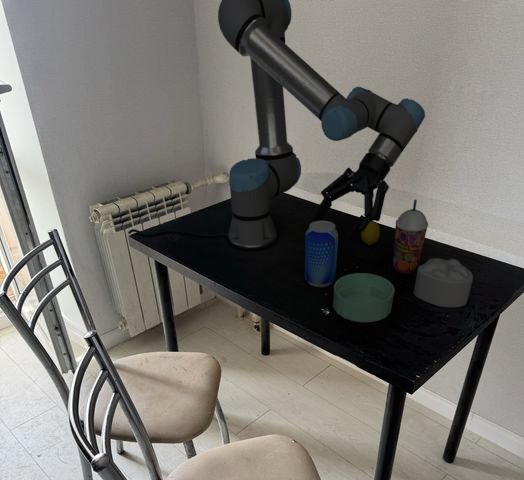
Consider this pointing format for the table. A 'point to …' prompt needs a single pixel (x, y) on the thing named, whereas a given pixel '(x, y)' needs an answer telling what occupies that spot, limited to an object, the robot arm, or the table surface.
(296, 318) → the table surface
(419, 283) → the lumpy-topped squat cylinder
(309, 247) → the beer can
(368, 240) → the lemon
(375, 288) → the pale green round tub
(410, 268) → the smoothie
